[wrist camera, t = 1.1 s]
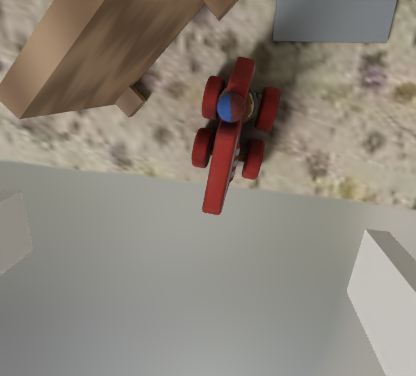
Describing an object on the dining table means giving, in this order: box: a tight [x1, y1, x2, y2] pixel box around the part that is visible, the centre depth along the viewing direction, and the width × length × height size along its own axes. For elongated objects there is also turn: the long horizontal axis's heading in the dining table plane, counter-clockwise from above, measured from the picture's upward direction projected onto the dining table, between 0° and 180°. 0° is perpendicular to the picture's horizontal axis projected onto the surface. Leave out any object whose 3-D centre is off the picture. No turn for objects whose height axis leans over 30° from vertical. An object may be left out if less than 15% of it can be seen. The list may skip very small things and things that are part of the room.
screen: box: [0, 0, 238, 119], centre depth 21 cm, size 16×6×14 cm, turn 133°
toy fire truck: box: [192, 57, 280, 215], centre depth 25 cm, size 7×12×10 cm, turn 168°
